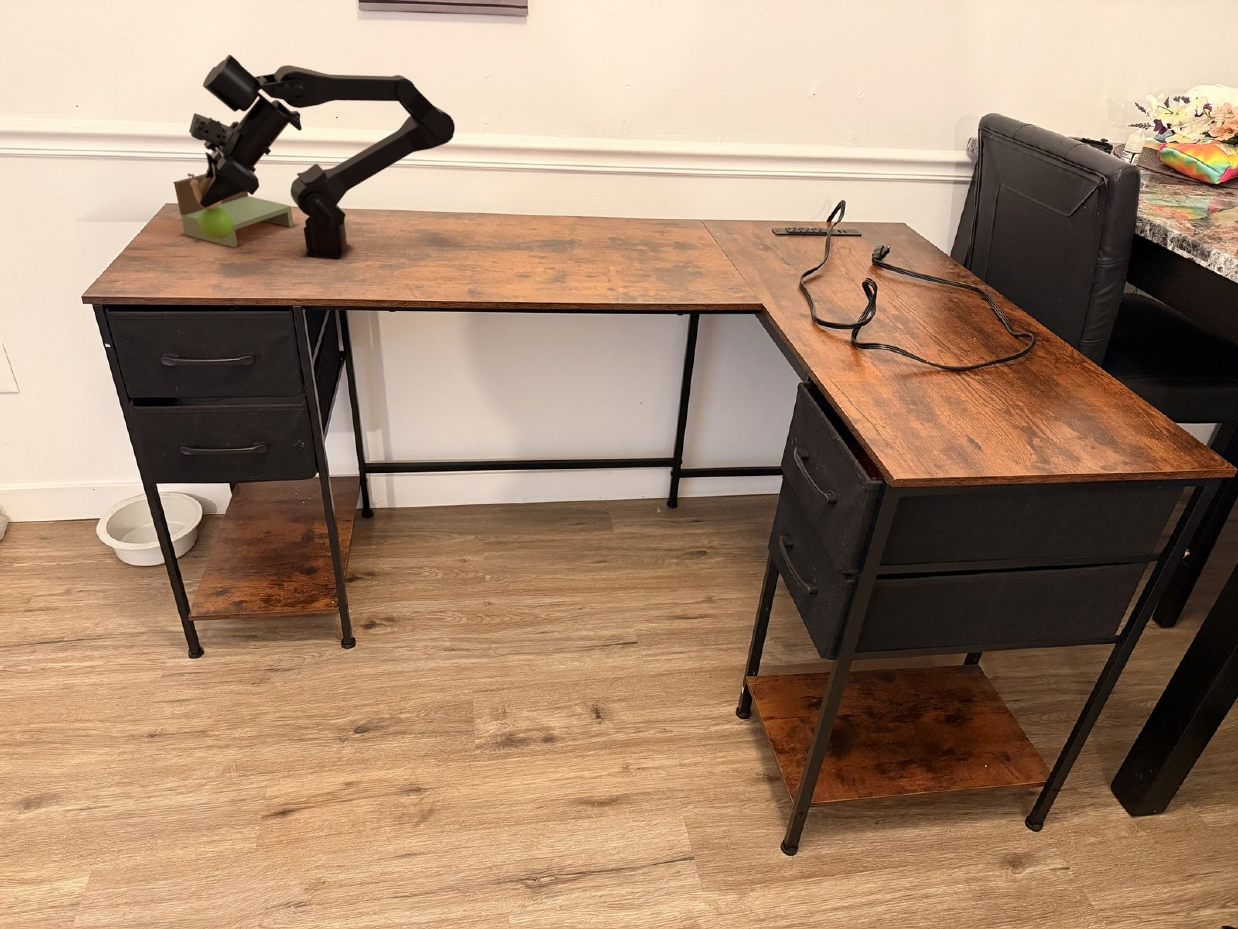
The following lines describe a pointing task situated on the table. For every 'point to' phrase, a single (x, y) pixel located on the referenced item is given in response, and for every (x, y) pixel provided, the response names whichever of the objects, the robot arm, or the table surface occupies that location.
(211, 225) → the snail figurine
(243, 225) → the bench with backrest
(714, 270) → the table surface
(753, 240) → the table surface
